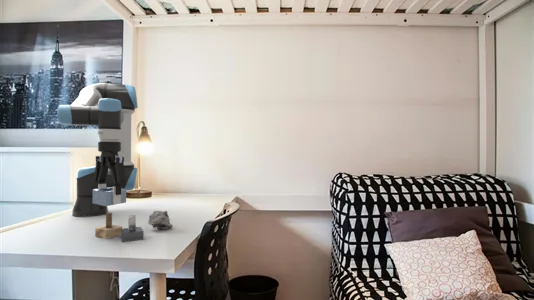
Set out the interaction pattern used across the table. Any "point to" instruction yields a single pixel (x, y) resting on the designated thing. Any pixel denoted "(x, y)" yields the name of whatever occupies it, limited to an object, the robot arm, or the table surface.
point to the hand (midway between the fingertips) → (109, 202)
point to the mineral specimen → (160, 220)
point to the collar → (107, 196)
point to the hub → (132, 231)
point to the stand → (108, 229)
